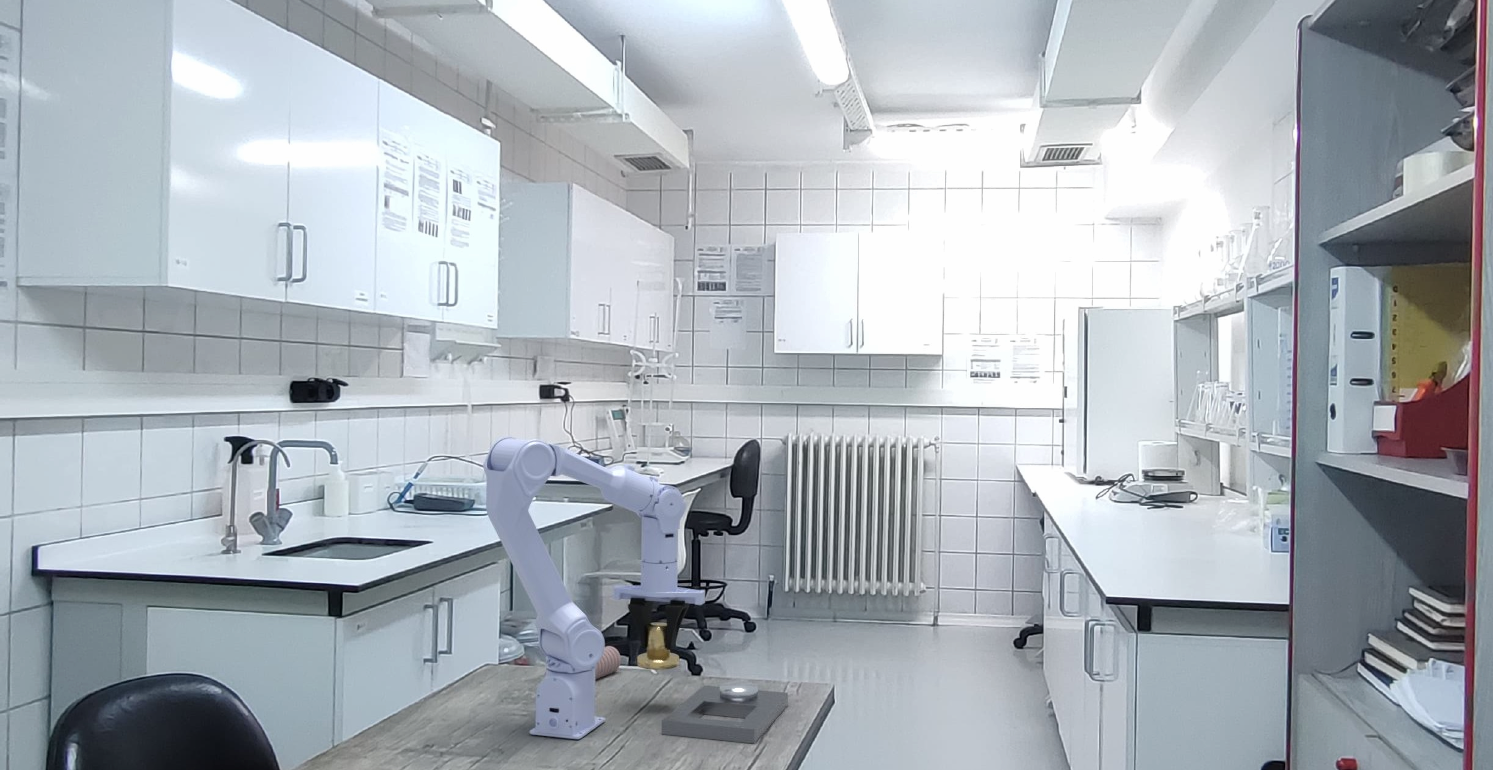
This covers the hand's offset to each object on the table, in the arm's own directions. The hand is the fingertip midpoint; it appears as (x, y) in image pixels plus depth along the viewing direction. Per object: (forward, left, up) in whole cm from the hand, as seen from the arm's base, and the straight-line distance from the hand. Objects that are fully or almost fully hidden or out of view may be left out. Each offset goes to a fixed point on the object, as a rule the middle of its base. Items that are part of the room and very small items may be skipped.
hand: (658, 647), depth 172 cm
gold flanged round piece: (0, 0, -3) cm, 3 cm away
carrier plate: (-2, -12, -10) cm, 15 cm away
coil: (+11, +18, -10) cm, 23 cm away
